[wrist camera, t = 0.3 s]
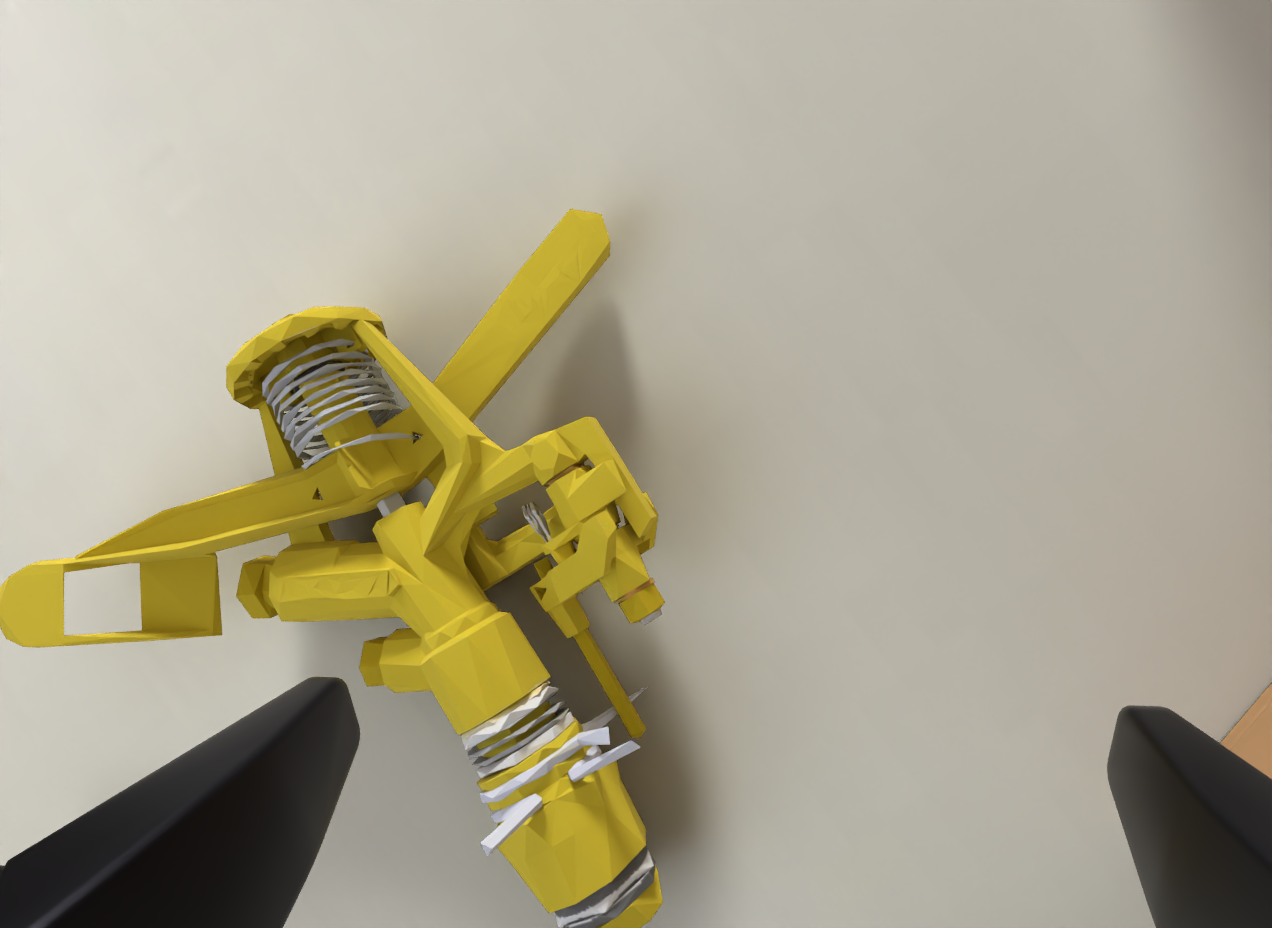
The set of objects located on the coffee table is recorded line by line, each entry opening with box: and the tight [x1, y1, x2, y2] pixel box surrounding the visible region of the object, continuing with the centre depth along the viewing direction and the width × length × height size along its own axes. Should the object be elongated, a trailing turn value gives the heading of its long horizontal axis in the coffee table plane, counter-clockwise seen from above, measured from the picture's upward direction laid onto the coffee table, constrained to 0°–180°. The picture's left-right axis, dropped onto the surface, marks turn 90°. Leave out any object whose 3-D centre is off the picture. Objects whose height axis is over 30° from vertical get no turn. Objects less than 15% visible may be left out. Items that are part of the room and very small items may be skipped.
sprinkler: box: [0, 209, 665, 928], centre depth 22 cm, size 22×6×20 cm
